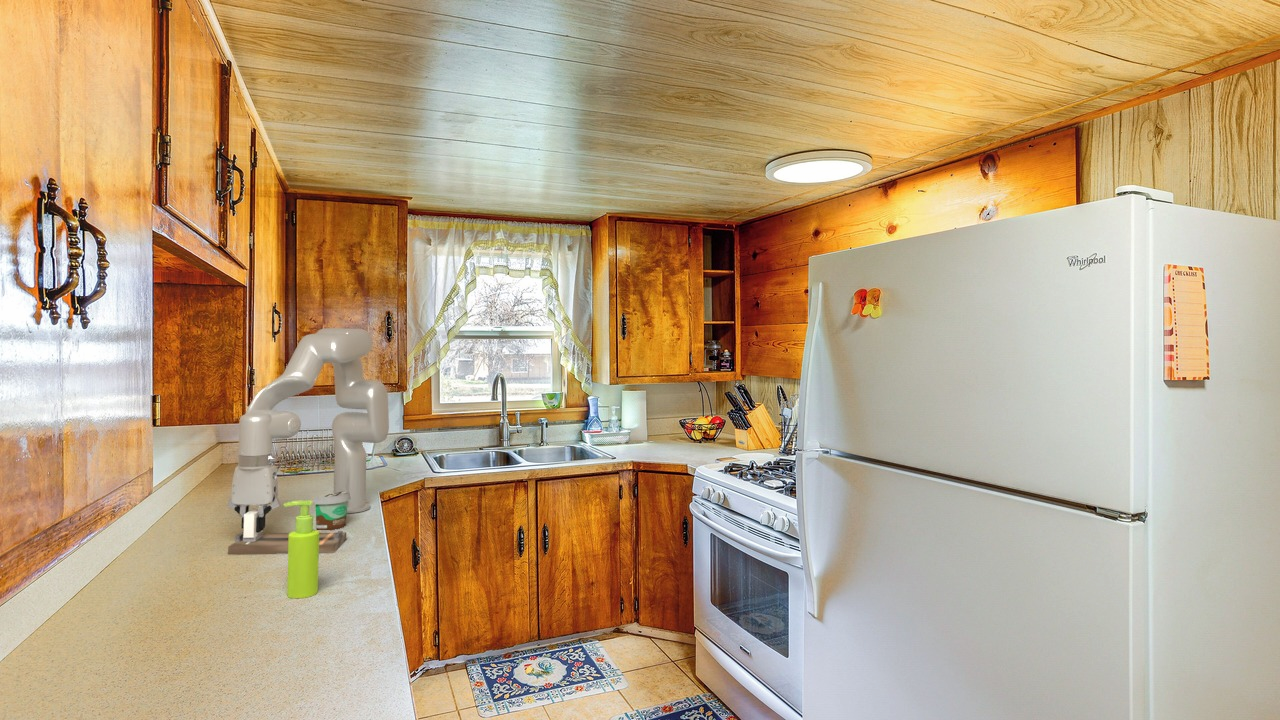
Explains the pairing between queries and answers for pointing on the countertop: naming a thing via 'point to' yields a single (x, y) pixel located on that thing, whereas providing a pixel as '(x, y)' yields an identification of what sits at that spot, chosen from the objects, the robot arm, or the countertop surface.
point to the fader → (251, 527)
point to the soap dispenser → (303, 554)
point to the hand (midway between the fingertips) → (253, 530)
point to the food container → (332, 510)
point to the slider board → (283, 543)
